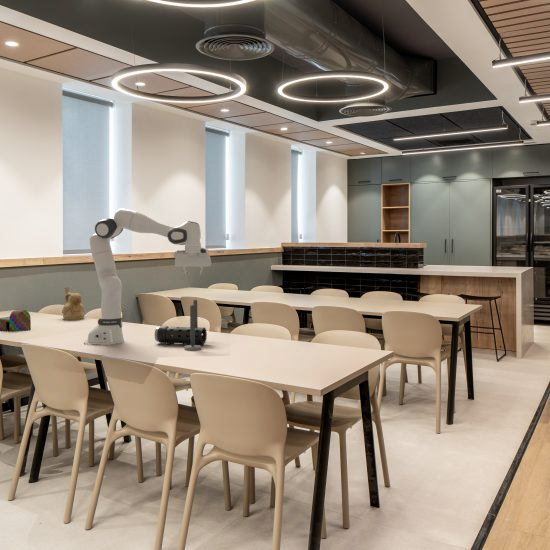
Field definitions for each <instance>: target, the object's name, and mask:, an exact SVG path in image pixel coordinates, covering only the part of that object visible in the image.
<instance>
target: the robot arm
mask: <svg viewBox="0 0 550 550" xmlns="http://www.w3.org/2000/svg"><path fill="white" fill-rule="evenodd" d="M124 229H125V230H129V231H131V232H135V233H138V234H139V233H140V234H155V235H159V236H161V237H165V238H167V240H168V242H170V243H171V244H173V245H180V246H184V249H181V250H176V251H174V252H173V253H174V254H173V256H174V259H175V260H174V267H177V268H182V270H183V271H184V275H185V276H188V275H189V272H188V271H187V270H186V269H187V268H191V267H192V268H194V267H195V268H196V267H198V268H200V271H198V275H199V276H201V275H202V272H203V270H204V267H205V268H208V267H211V266H212V260H211V255H210V254H209V251H210V250H209V249H208V248H204V247H201V238H202V237H201V235H202V234H201V227H200V224H199V223H197V222H196V221H190V220H188V221H187V220H186V221H185V222H184V223H182V224H180V225H178V226H174V227H173V226H172V227H171V226H169V225H165V224H163V223H159V222H157V221H156V220H154V219H152V218H150V217H148V216H147V215H145V214H144V213H140V212H138V211H135V210H133V209H126V208H119V209H118V210H116V212H115V213H114V215H113V217H107V218H104V219H101V220H99V221H97V223H96V224H95V226H94V232H95V233H94V234H91V236H90V237H89V247H90V253H91V255H92V260H93V263H94V267H95V271H96V275H97V279H98V284H99V287H100V290H101V299H100V300H101V302H100V304H101V305H100V309H101V310H100V313H101V317H99V318H98V320H97V326H95V327H94V328H93V329H91V330H90V331H89V332H88V335H87V340H85V341H83V344H84V343H85V344H84V345H86V344H101V345H102V346H110V344H112V345H116V343H118V344H122V342H123V343H125V342H124V341H125V338H124V334H123V317H122V294H123V293H122V291H123V284H122V283H123V282H122V280H121V279H120V278H119V277H118V273H117V267H116V263H115V262H116V261H115V259H114V254H113V250H112V247H111V242H110V241H111V240H112V239H113V240H114V238H116V237H118V236H119V235H121V233H122V232H123V230H124ZM101 345H100V346H101Z"/></svg>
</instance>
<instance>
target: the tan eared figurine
mask: <svg viewBox="0 0 550 550" xmlns="http://www.w3.org/2000/svg"><path fill="white" fill-rule="evenodd" d="M64 291H65V295H64V302H65V304H64V305H63V308H62V310H61V314H63V315H62V318H63V320H65V321H77V320H78V321H79V320H83V319H85V314H84V313H85V308H84V305H83V304H82V303H81V302H82V295H81V294H80V293H78V292H74V293H73V292H70V287H64Z"/></svg>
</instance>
